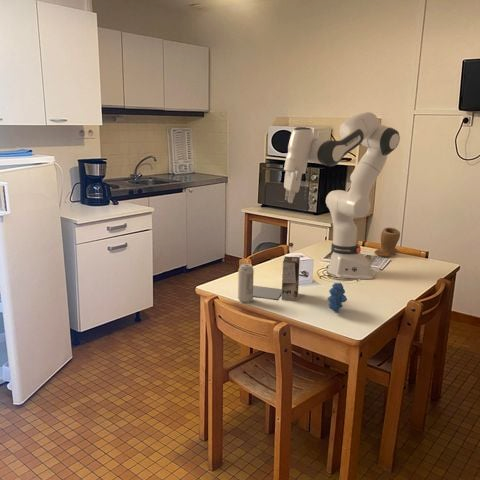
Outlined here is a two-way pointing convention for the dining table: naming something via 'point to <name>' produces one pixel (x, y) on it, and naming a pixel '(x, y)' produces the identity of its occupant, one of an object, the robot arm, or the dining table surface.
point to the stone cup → (388, 242)
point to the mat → (266, 292)
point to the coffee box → (290, 278)
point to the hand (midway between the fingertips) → (288, 201)
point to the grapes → (336, 296)
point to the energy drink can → (245, 283)
